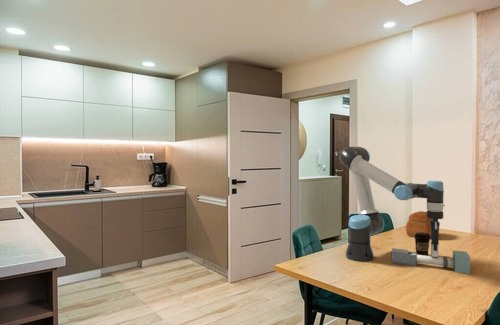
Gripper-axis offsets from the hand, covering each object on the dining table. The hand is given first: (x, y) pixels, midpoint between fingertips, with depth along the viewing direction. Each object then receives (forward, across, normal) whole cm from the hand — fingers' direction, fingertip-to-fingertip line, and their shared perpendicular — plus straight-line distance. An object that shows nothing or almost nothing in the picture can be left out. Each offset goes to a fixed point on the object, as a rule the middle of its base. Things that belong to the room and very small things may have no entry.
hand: (434, 255), depth 168 cm
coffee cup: (+6, +19, +4) cm, 20 cm away
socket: (+6, 0, -12) cm, 13 cm away
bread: (+6, +73, +2) cm, 73 cm away
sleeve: (+6, 0, +14) cm, 16 cm away
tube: (+6, 0, +3) cm, 7 cm away
